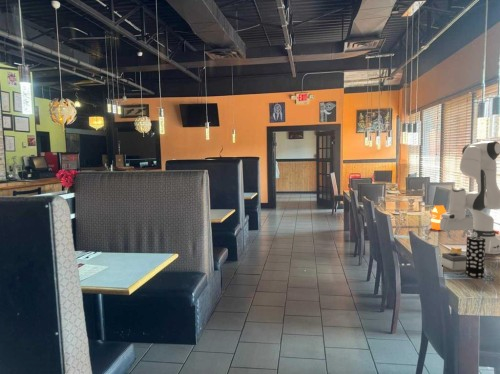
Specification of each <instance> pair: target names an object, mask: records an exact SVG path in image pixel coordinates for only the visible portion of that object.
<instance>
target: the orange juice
mask: <svg viewBox="0 0 500 374" xmlns="http://www.w3.org/2000/svg"><path fill="white" fill-rule="evenodd" d="M446 212H447V210H446V209H445V206H444V205H443V204H442V205H434V206H433V209H432V210H431V219H430V221H431V222H430V223H431V224H430V228H431V229H433V230H437V231H439V230H441V229H440V221H441V219H442V217H441V214H443V213H446ZM441 231H442V230H441Z"/></svg>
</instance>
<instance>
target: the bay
mask: <svg viewBox="0 0 500 374" xmlns="http://www.w3.org/2000/svg"><path fill="white" fill-rule="evenodd" d="M440 256H441V259H442V264H443V266H442V267H444V268H446V269H447V270H451V271H454V272H455V271H466V253H464V254H463V253H461V254H459V253H451V252H444V253H442V252H441V255H440Z"/></svg>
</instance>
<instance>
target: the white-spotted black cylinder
mask: <svg viewBox="0 0 500 374" xmlns="http://www.w3.org/2000/svg"><path fill="white" fill-rule="evenodd" d="M465 254H466V270H465V277H468V278H471V279H483V278H484V277H485V255H486V253H485V239H484V238H480V237H473V236H467V237H466V250H465Z"/></svg>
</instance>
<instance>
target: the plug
mask: <svg viewBox="0 0 500 374" xmlns="http://www.w3.org/2000/svg"><path fill="white" fill-rule="evenodd" d="M462 251H463V249H462V248H461V247H458V246H452V247H450V253H459V254H462Z"/></svg>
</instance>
